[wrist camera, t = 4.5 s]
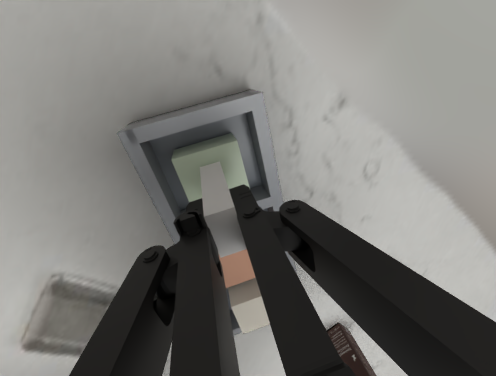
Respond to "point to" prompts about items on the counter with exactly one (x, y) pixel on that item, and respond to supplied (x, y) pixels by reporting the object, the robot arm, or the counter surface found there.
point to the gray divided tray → (197, 130)
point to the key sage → (205, 154)
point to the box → (350, 351)
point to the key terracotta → (237, 268)
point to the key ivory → (248, 306)
